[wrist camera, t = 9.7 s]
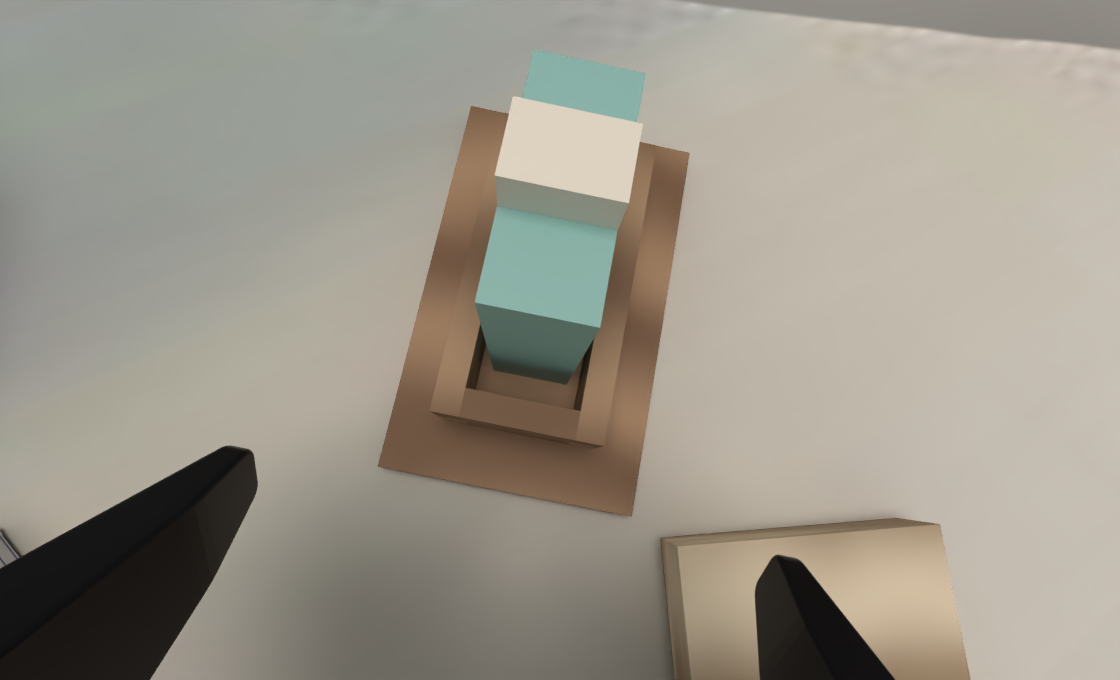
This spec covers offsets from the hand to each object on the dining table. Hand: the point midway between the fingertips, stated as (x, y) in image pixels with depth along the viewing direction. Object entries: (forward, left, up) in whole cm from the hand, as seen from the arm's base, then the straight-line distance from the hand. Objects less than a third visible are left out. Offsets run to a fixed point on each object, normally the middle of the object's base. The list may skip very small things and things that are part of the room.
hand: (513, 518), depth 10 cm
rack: (+8, -2, -14) cm, 16 cm away
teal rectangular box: (+8, -2, -13) cm, 15 cm away
